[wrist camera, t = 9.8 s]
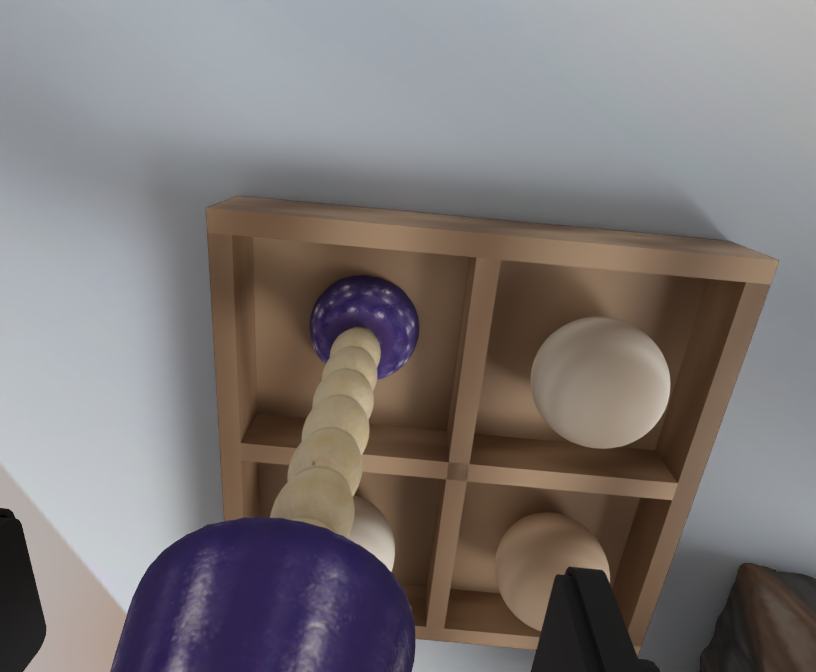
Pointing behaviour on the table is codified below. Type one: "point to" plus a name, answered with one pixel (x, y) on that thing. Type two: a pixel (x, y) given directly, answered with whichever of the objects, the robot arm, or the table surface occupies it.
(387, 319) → the toy lamp
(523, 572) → the egg
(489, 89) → the table surface
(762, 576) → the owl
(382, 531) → the egg
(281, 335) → the organizer
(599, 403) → the egg
